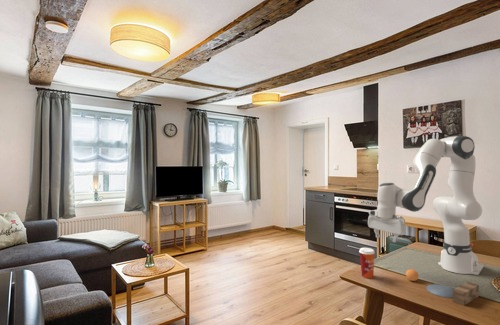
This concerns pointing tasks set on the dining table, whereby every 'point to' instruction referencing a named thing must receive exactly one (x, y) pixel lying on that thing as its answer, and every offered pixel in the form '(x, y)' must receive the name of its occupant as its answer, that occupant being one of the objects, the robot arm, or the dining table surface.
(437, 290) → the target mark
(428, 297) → the dining table surface
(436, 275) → the dining table surface
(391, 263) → the dining table surface
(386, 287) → the dining table surface
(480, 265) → the robot arm
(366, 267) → the paper cup
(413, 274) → the ball
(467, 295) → the block
